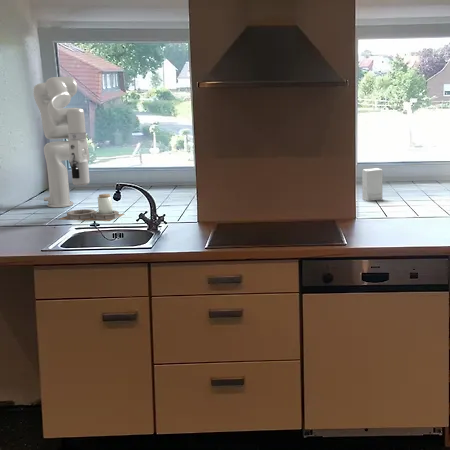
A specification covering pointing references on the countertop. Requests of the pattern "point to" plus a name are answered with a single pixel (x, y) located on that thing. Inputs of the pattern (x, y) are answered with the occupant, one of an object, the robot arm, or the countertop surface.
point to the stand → (90, 215)
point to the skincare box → (372, 184)
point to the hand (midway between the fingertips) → (80, 176)
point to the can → (82, 173)
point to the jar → (105, 204)
